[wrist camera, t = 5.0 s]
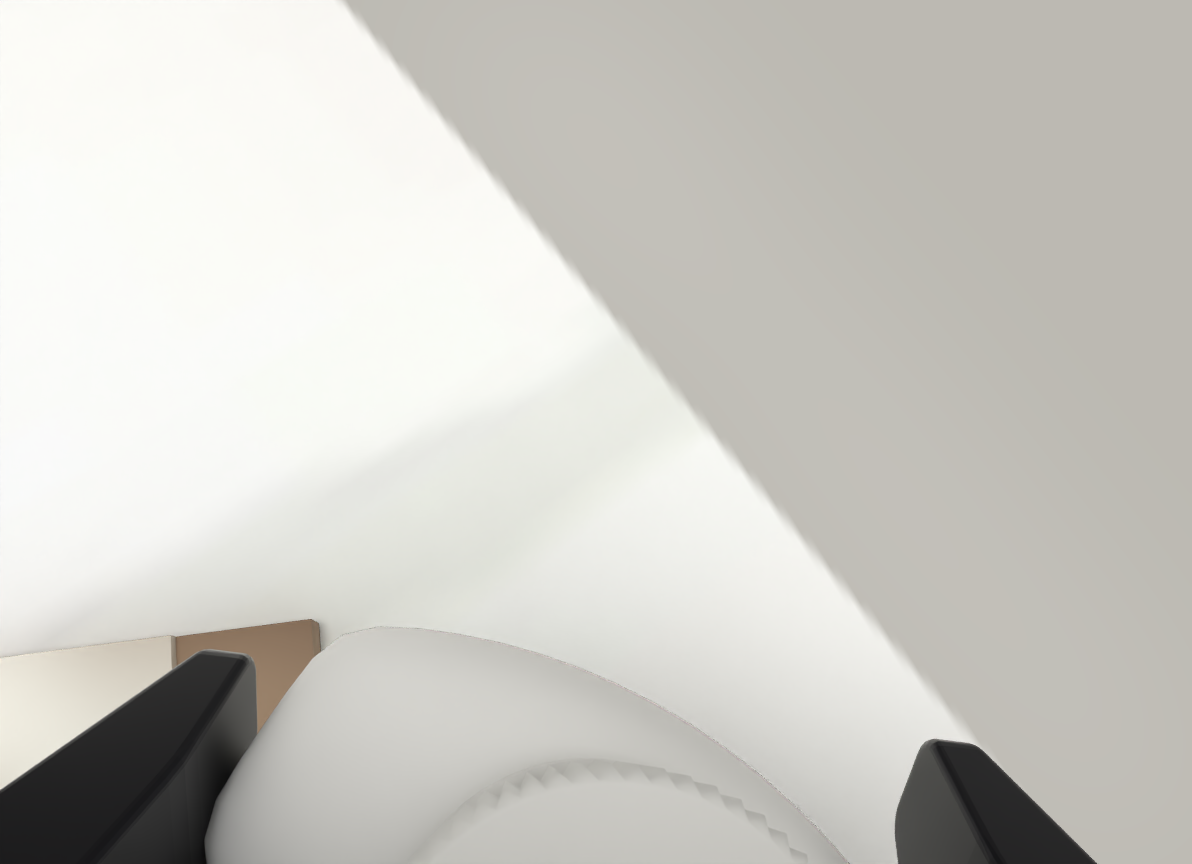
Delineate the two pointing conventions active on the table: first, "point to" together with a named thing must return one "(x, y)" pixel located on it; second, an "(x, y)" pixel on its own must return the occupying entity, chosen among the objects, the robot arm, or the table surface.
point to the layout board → (127, 682)
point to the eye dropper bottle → (490, 769)
